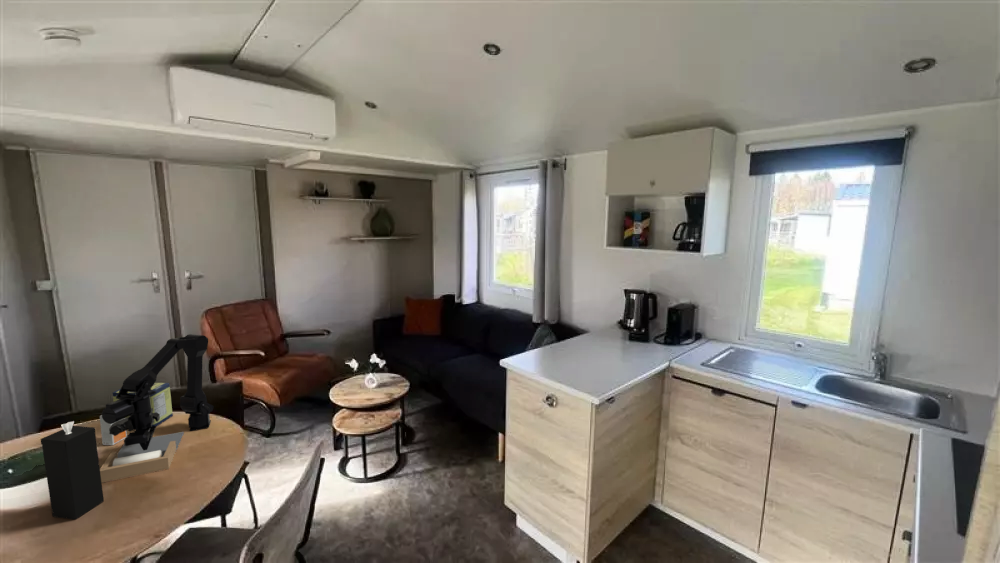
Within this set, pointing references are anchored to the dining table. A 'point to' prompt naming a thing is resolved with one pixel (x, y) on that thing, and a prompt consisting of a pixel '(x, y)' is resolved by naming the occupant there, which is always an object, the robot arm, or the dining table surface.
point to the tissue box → (72, 471)
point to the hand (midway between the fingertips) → (145, 449)
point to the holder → (163, 443)
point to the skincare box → (109, 438)
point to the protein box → (158, 401)
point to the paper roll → (137, 458)
